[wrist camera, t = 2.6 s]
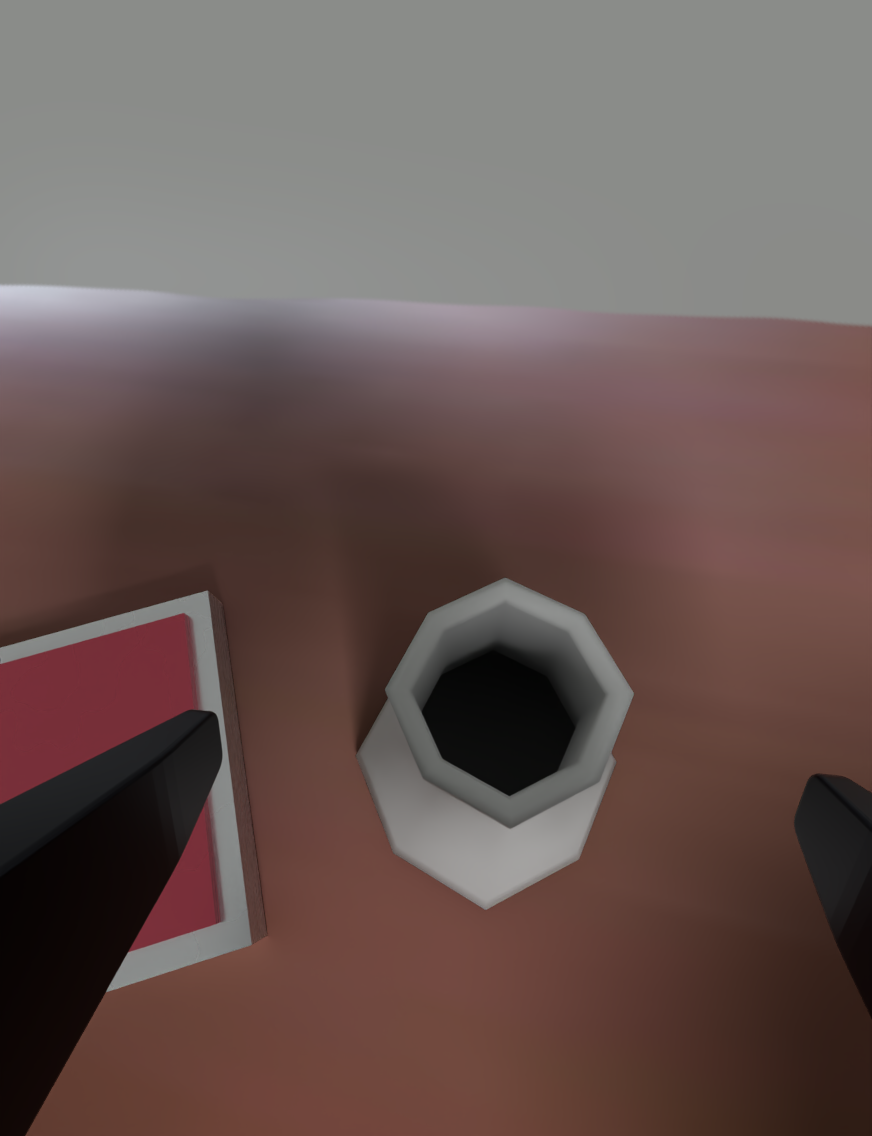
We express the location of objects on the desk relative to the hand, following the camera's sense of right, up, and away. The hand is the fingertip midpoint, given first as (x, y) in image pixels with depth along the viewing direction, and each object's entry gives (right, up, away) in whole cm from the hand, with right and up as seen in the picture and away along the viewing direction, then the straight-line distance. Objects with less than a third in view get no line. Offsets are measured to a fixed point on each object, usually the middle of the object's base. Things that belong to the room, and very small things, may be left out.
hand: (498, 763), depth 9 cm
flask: (0, -3, +8) cm, 9 cm away
